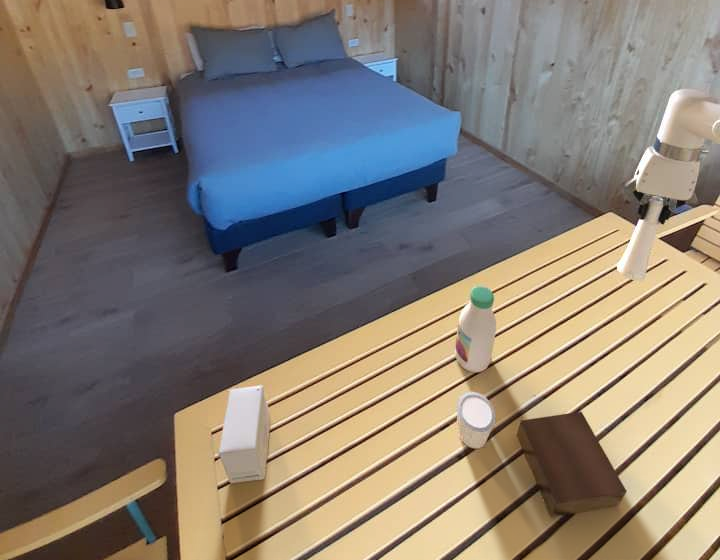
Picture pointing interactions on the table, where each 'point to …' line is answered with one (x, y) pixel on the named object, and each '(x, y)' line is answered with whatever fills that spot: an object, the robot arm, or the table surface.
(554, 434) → the block
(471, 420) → the white yogurt cup
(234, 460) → the cosmetics box
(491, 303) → the milk bottle
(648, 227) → the cosmetic bottle
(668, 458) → the table surface
